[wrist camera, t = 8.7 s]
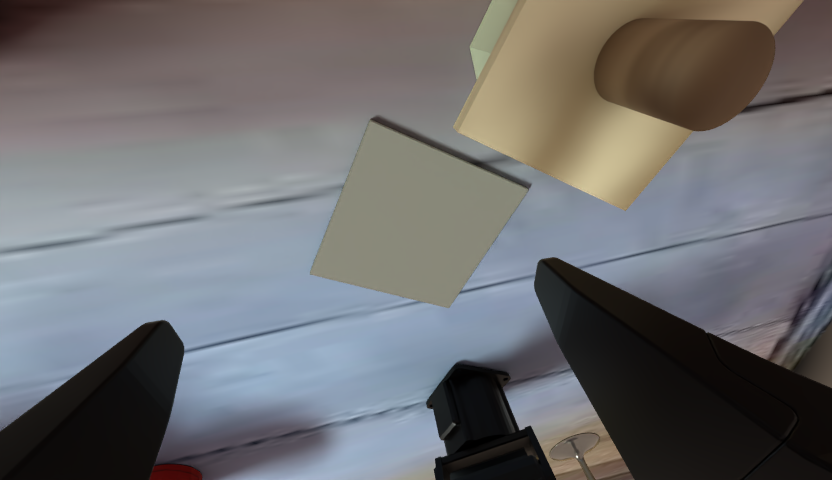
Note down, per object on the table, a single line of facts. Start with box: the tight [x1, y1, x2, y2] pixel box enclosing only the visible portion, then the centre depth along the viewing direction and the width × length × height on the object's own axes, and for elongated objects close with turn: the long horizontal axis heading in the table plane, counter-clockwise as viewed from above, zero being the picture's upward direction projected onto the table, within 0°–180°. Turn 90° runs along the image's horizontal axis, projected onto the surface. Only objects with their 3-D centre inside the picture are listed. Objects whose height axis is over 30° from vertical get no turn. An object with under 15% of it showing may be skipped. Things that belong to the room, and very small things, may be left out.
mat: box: [310, 119, 528, 308], centre depth 23 cm, size 11×11×1 cm
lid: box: [453, 0, 804, 211], centre depth 13 cm, size 11×11×5 cm
